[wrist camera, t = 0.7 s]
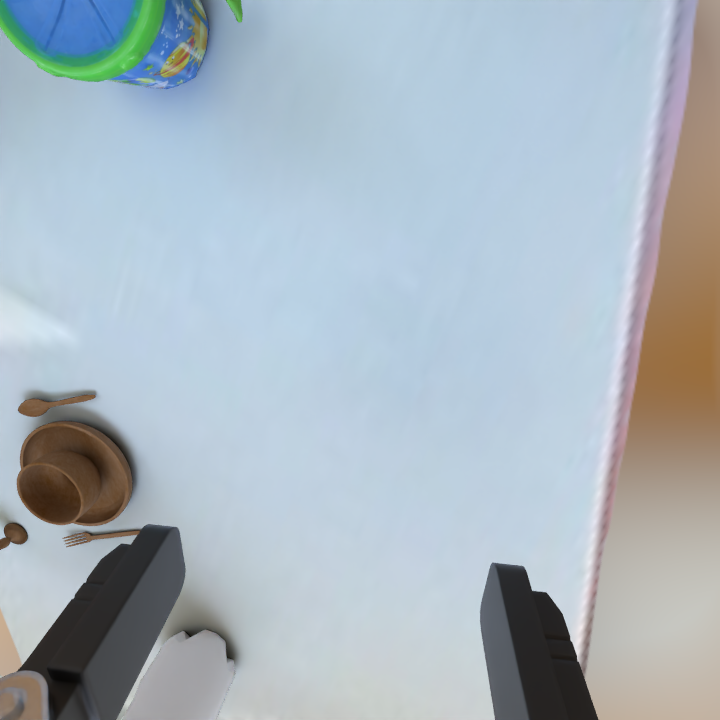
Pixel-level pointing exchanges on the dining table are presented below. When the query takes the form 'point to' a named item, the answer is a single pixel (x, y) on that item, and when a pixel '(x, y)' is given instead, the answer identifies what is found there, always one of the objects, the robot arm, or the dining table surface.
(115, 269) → the dining table surface
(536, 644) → the robot arm
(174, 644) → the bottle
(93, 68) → the snack cup
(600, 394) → the dining table surface
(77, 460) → the place setting
